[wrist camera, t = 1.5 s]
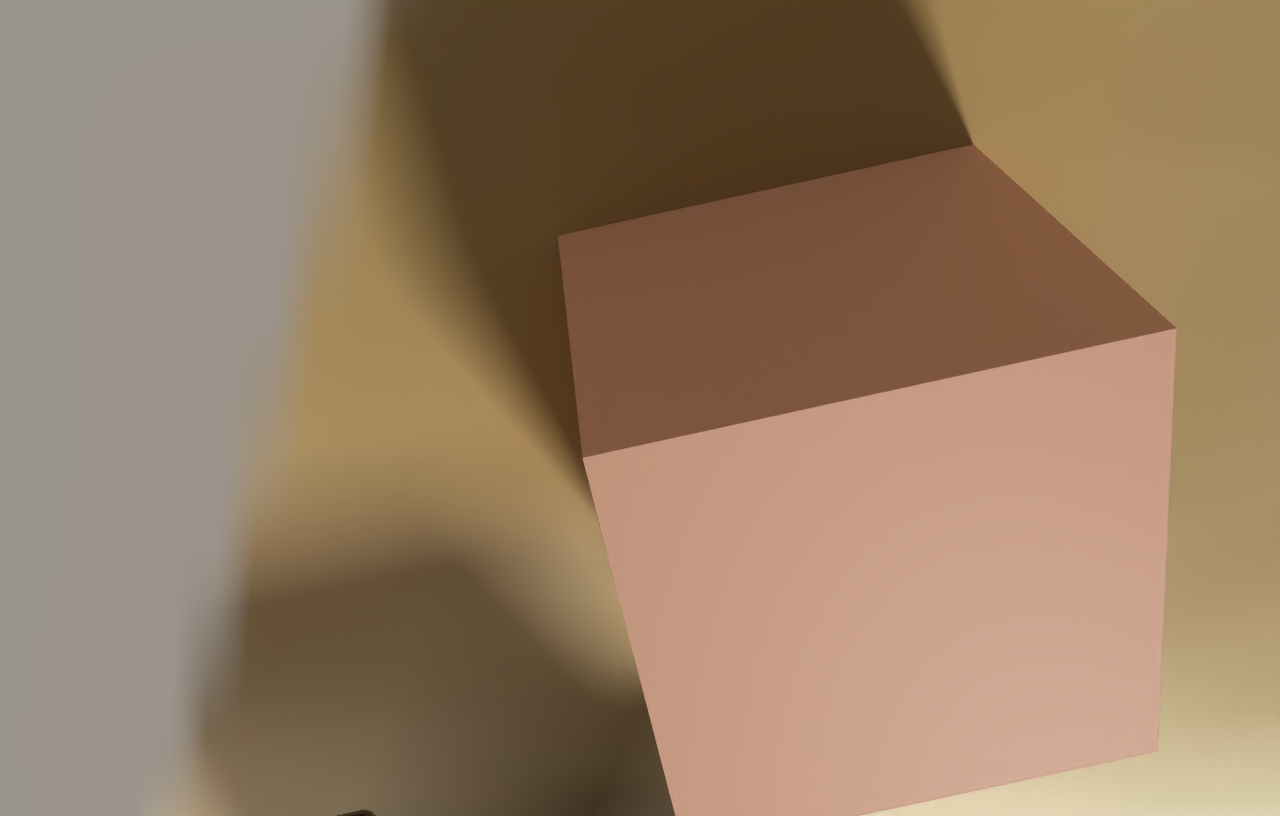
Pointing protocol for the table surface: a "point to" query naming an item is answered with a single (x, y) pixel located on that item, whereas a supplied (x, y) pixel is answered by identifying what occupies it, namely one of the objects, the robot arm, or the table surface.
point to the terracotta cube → (876, 486)
